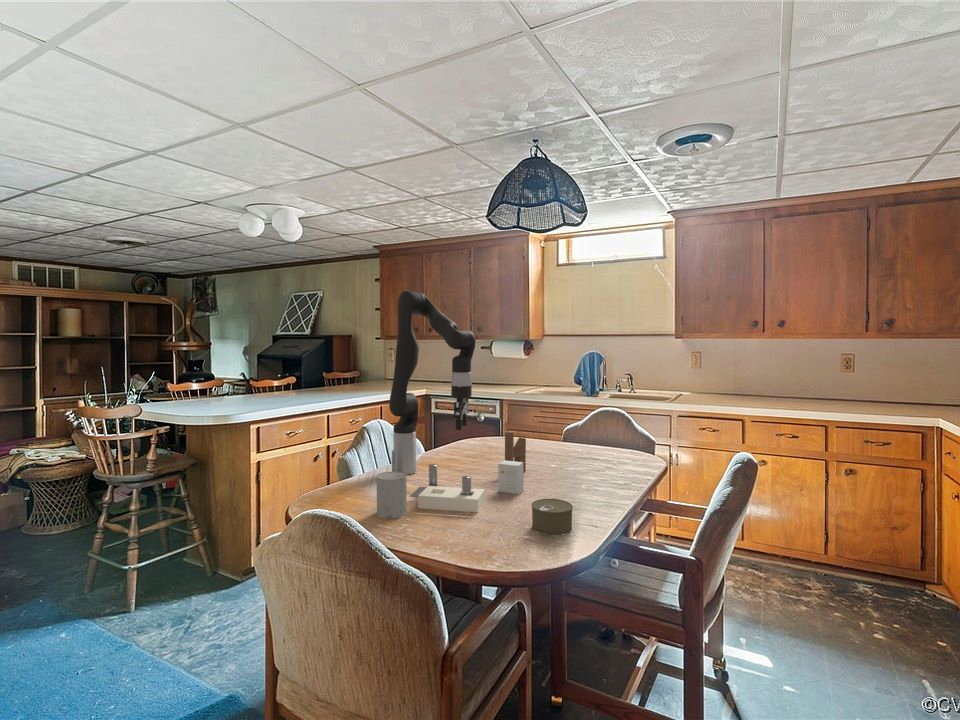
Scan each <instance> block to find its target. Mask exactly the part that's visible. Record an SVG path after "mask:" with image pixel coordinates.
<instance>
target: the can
mask: <svg viewBox="0 0 960 720" xmlns="http://www.w3.org/2000/svg"><path fill="white" fill-rule="evenodd" d="M573 508H574V507H573V505H572V503H570V502H568V501H566V500H563V499H557V498H542V499H537V500H535V501H533V502H532V503H531V510H532V511H531V514H532V517H531V518H532V521H531V522H532V525H531V526H532V527H531V528H532V530H533V529H534V530H535V531H534V530H533V531H534V532H536V531H537V532H536V533H538V532H539V533H538V534H540V533H542V534H541V535H544V534H546V535H545V536H552V535H558V536H563V535H562V534H565V535H568V534H569V532H570V531H571V532H572V530H573ZM571 532H570V533H571ZM567 533H568V534H567Z"/></svg>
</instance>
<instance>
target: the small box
mask: <svg viewBox="0 0 960 720" xmlns="http://www.w3.org/2000/svg"><path fill="white" fill-rule="evenodd" d="M497 466H498V468H497V469H498V470H497V471H498V473H497V474H498V477H497V479H498V483H497V485H498V492H499V493H507V494H514V495H520V493H522V492H523V491H524V487H525V486H524V485H525V484H524V481H525V480H524V472H523V462H515V461H505V459H504V460H502V461H501V462H498V464H497Z"/></svg>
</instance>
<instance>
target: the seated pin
mask: <svg viewBox="0 0 960 720" xmlns="http://www.w3.org/2000/svg"><path fill="white" fill-rule="evenodd" d="M461 488H462V495H466V496H471V489H472V476H471V475H463V476H462V477H461Z"/></svg>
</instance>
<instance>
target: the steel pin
mask: <svg viewBox="0 0 960 720" xmlns="http://www.w3.org/2000/svg"><path fill="white" fill-rule="evenodd" d="M428 486H438V464H434V463H431V464H429V465H428Z"/></svg>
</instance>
